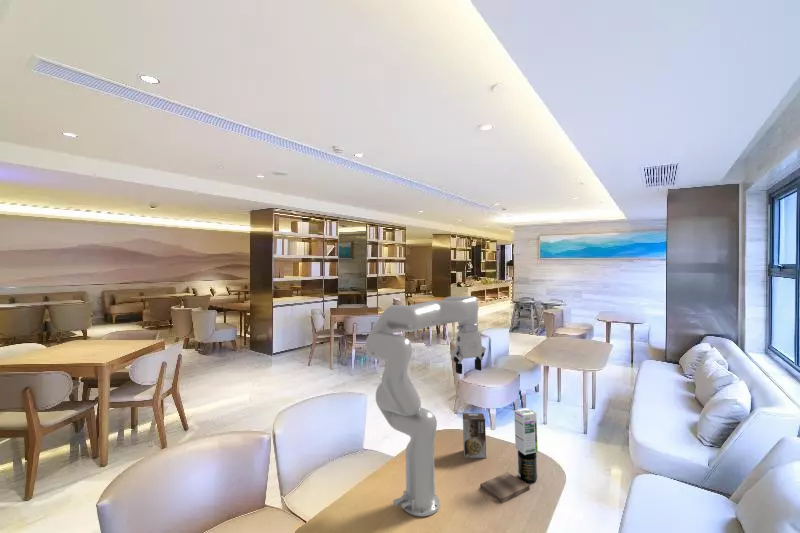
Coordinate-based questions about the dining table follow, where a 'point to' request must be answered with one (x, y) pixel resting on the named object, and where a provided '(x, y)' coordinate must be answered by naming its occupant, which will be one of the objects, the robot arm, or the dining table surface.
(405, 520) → the dining table surface
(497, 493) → the walnut serving board
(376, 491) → the dining table surface
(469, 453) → the coffee box
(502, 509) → the dining table surface
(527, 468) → the supplement container
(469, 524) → the dining table surface
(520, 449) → the syrup box
